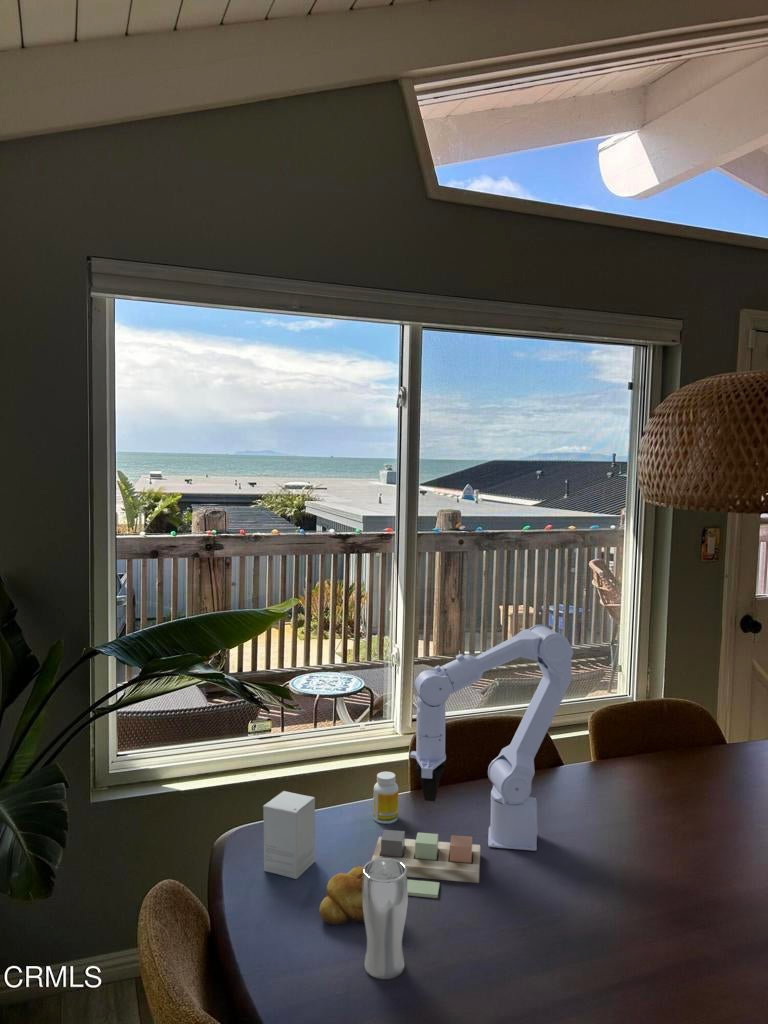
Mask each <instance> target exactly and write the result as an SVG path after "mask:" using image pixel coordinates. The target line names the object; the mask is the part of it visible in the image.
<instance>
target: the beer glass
mask: <svg viewBox="0 0 768 1024" xmlns="http://www.w3.org/2000/svg"><path fill="white" fill-rule="evenodd" d="M362 867H363V879H362V912H363V918H364V922H363V923H364V929H365V936H366V951H365V954H364V955H365V956H364V963H363V966H364V971H365V972H366V973H367V974H368V975H369V976H370V977H372V978H373V979H374V978H375V979H378V980H391V979H394V978H397V977H398V976H400V975H401V974H402V973H403V971H404V970H405V958H404V952H403V935H404V929H405V926H406V925H405V924H406V918H407V913H408V901H409V896H408V885H407V879H408V877H407V869H406V866H405V865H404V864H403V863H402V862H400V861H398V860H396V859H391V858H378V859H374V860H372V859H371V860H369V861H367V862H366V863H365V864H364V866H362Z"/></svg>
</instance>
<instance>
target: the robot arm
mask: <svg viewBox="0 0 768 1024" xmlns="http://www.w3.org/2000/svg"><path fill="white" fill-rule="evenodd" d="M573 655H574V650H573V648H572V646H571V643H570V642H569V640H568V638H567V637H566V636H565V635H563V634H561V633H558V632H556V631H554V630H553V629H551V628H549V627H548V626H546V625H545V624H536V625H533V626H531V627H530V628H526V629H522V630H521V631H519V632H518V633H516V634H515V635H513V636H512V637H510V638H508V639H506V640H504V641H502V642H501V643H498V644H497V645H495V646H493V647H491V648H489V649H487V650H485V651H484V652H482V653H480V654H477V656H473V655H470V654H468V653H467V654H464V655H463V654H462V653H459V654H458V655H455V659H454V660H452V661H450V662H447V663H445V664H443V665H439V664H438V665H436V666H434V667H433V668H434V670H433V669H432V670H430V669H427V670H424V671H421V672H420V673H419V674H418V676H416V678H415V682H414V683H413V689H414V691H415V693H416V694H417V698H416V699H417V700H416V705H417V707H416V736H415V737H416V744H415V745H416V746H415V747H416V750H412V751H410V754H409V755H410V756H409V758H411V759H415V760H416V762H417V763H416V764H415V773H416V774H417V776H418V778H419V781H420V784H421V789H422V794H423V800H424V801H426V802H435V801H436V800H437V799H436V798H437V795H438V789H439V784H440V779H441V778H442V776H443V774H444V772H445V767H446V760H447V754H446V702H447V701H448V699H449V697H450V695H452V694H454V693H457V692H459V691H461V690H463V689H465V688H467V687H469V686H471V685H474V684H475V683H478V682H480V680H481V679H482V676H483V674H484V672H487V671H489V670H491V669H492V670H493V669H494V668H497V667H499V666H501V665H504V664H506V663H509V662H511V661H512V662H513V660H516V659H519V658H522V659H526V660H531V661H532V660H533V661H536V662H537V664H538V666H539V669H540V671H541V674H542V677H541V679H540V681H539V683H538V685H537V688H536V690H535V691H534V693H533V696H532V698H531V700H530V702H529V704H528V706H527V708H526V710H525V713H524V714H523V717H522V718H521V721H520V723H519V725H518V727H517V729H516V731H515V733H514V736H513V738H512V740H511V741H510V744H508V745H506V746H505V747H503V748H501V750H500V752H499V754H498V756H496V757H495V758H494V759H493V760H491V762H490V763H489V765H488V766H487V767H488V769H487V776H488V779H489V781H490V782H491V783H492V788H491V791H490V825H489V826H488V834H487V835H488V838H487V839H488V840H487V844H488V845H487V846H488V847H489V848H495V849H496V848H498V849H508V850H510V849H511V850H512V849H513V850H524V851H532V852H533V851H535V852H536V851H537V841H538V840H537V839H538V835H539V826H538V803H537V798H536V797H531V796H530V795H531V793H532V781H533V778H534V776H535V758H536V755H537V753H538V751H539V750H540V747H541V745H542V743H543V741H544V738H545V737H546V734H547V732H548V730H549V729H550V726H551V725H552V724H551V723H552V722H553V720H554V717H555V716H556V713H557V712H558V709H559V708H560V706H561V704H562V701H563V699H564V697H565V695H566V692H567V691H568V689H569V687H570V685H571V682H572V679H573V675H572V671H573V669H572V668H573V667H572V658H573Z"/></svg>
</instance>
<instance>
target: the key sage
mask: <svg viewBox="0 0 768 1024" xmlns="http://www.w3.org/2000/svg"><path fill="white" fill-rule="evenodd" d="M415 840H416V842H415V858H416V859H421V860H432V861H437V860H438V859H437V853H438V842H439V833H430V832H429V833H428V832H417V834H416V838H415Z"/></svg>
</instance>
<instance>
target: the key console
mask: <svg viewBox="0 0 768 1024" xmlns="http://www.w3.org/2000/svg"><path fill="white" fill-rule="evenodd" d="M381 839H382V836H378V839H377V843H376V845H375V848H374V851H373V855H372V857H371V860H374V859H378V858H391V859H396V860H398V861H400V862H402V863H403V864H404V865H405V866H406V869H407V878H418V879H420V878H421V879H430V880H441V881H453V882H462V883H464V882H465V883H473V884H479V883H480V867H481V866H480V865H481V845H480V844H475V843H474V844H473V843H472V860H471V863H465V862H454V861H450V842H449V841H438V853H437V859H436V860H430V859H419V858H415V842H416V839H412V838H405V847H404V851H403V855H402V857H396V856H384V855H381Z"/></svg>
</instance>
